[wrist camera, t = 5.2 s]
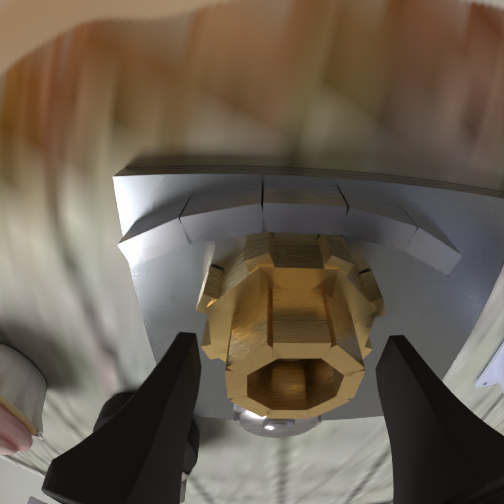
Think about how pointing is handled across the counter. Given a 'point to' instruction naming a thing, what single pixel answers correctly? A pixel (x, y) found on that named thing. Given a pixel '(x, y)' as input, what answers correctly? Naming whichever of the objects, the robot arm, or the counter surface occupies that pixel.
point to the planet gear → (290, 324)
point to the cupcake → (19, 401)
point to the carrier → (311, 227)
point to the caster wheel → (191, 444)
